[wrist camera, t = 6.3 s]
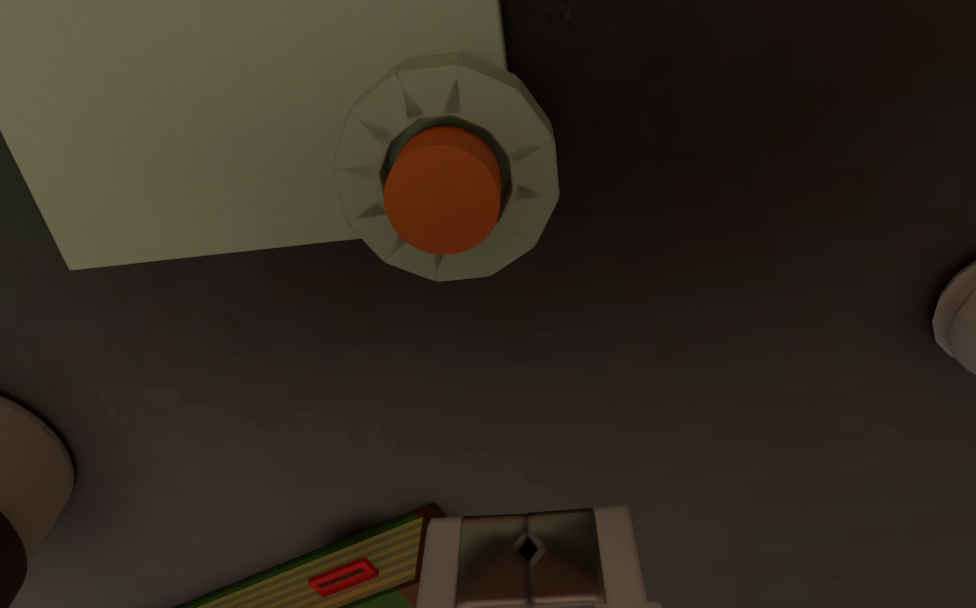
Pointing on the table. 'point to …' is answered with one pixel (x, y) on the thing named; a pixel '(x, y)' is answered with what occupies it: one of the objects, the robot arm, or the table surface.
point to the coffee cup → (27, 491)
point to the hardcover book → (341, 572)
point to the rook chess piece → (958, 318)
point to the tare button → (443, 190)
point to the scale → (259, 123)
